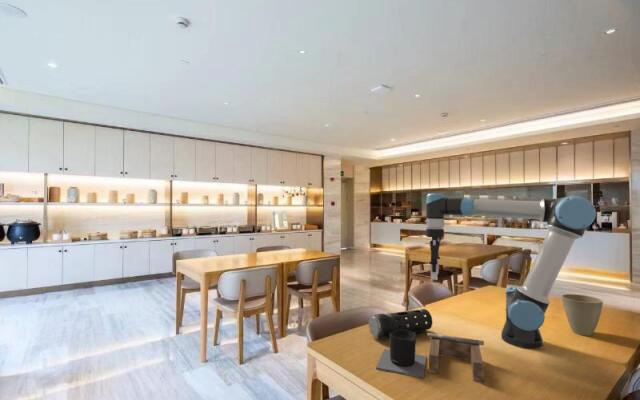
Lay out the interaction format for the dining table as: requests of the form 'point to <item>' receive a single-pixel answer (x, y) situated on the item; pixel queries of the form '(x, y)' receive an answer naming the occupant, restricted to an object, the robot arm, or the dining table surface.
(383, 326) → the muzzle brake
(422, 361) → the mat
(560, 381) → the dining table surface
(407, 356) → the pen holder
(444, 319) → the dining table surface
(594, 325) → the plant pot
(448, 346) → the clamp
